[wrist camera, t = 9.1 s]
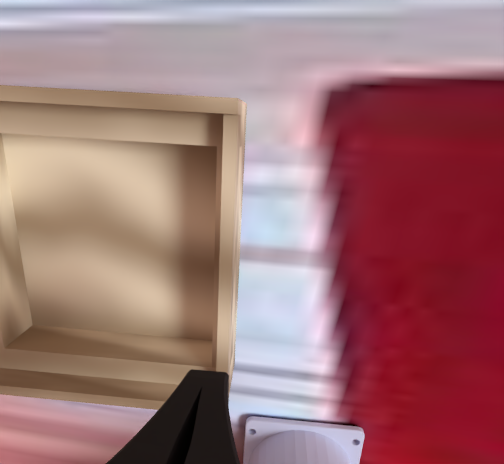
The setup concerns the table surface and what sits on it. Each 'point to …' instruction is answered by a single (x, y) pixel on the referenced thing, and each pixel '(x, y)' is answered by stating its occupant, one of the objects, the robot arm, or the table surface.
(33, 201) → the birch box
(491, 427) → the table surface
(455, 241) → the table surface
